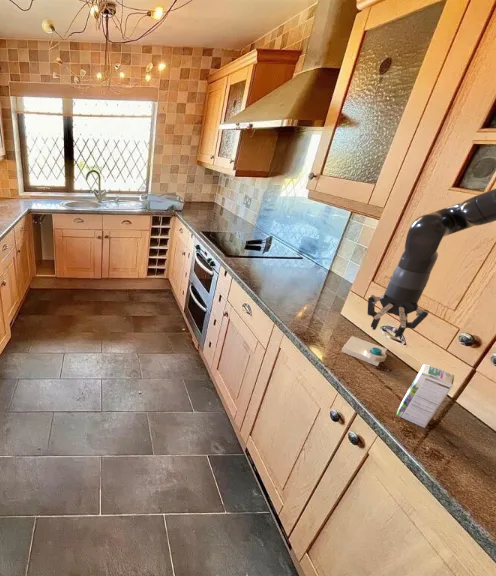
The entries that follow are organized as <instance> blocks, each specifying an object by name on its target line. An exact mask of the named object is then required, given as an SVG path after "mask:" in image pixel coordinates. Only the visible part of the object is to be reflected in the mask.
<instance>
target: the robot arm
mask: <svg viewBox="0 0 496 576" xmlns="http://www.w3.org/2000/svg"><path fill="white" fill-rule="evenodd" d="M493 222H496V188H493V189H490V190H487V191H485V192H482V193H479V194H477V195H475V196H472V197H469V198H467V199H466V200H464V201H462V202H459V203H456V204H453V205H451V206H447V207H445V208H444V207H443V208H442V209H441V208H440V209H439V210H436V211H433V212H430V213H427V214H423V215H420V216H418V217H417V218H416V219H415V220H414V221H412V223H411V224H410V226H409V229H408V231H407V233H406V238H405V243H404V249H403V252H402V254H401V256H400V259H399V261H398V263H397V266H396V267H395V269H394V270H393V273H392V274H391V276H390V278H389V281H388V284H387V286H386V289H385V291H384V293H383V295H381V296H376V295H374V294H372V295H370V296H369V297H368V298H367V315H368V316H369V317H370V316H371V317H372V318H373V319H372V321H371V323H370V327H371V328H372V329H371V330H373V331H376V329H377V328H378V325H379V323H380V321H381V317H383V316H384V315H385V314H386V313H387V314H390V315H391V314H392V315H395V316H397V317H399V323H400V325H399V327H398V328H397V330H396V333H395V335H394V338H397V339H398V337H400V338H401V337H402V336H403V334H404V332H405V330H406V329H411V330H414V329H415V328H416V327H418V326H419V325H420V324H421V323H422V322H423V320H425V319H426V318H427V317H428V315H429V313H430V311H429V310H428V309H422V308H420V307H419V305H418V304H419V303H418V302H419V300H420V299H421V296H422V295H423V293H424V290H425V289H426V287H427V284H428V282H429V280H430V277H431V273H432V271H433V269H434V266H435V264H436V262H437V260H438V257H439V252H438V249H439V246H440V244H441V242H442V240H443V238H445V237H447V236H450V235H453V234H455V233H458V232H461V231H464V230H466V229H470V228H473V227H477V226H482V225H487V224H490V223H493ZM377 303H380V304H381V306H382V308H381V309H380V310H379V311H377V312H376V310H375V309H376V308H375V307H376V304H377ZM413 312H416V313H415V316H416V317H415V319H413V321H410V322H409V319H408V315H409V314H411V313H413Z"/></svg>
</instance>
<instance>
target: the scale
mask: <svg viewBox="0 0 496 576" xmlns="http://www.w3.org/2000/svg"><path fill="white" fill-rule="evenodd" d="M374 347H375V348H379V349H381V350H382V352H381V355H380V356H378V355H374V354H372V353H371V351H372V348H374ZM387 350H388V348H386V347H383V346H380V345H379V344H376V343H372V342H370V341H367V340H364V339H362V338H359V337H356V336H354V335H351V336H350V338H349V339H348V340H347V342H346V343H345V344H344V345H343V346H342V348H341V351H340V352H341V353H343V354H345V355H349V356H351V357H353V358H356V359H358V360H361V361H362V362H366V363H369V364H371V365H373V366H375V367H378V366H379V365H380V363H382V362H385V361H386V359H387V354H386V353H387Z"/></svg>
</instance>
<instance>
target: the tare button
mask: <svg viewBox="0 0 496 576" xmlns="http://www.w3.org/2000/svg"><path fill="white" fill-rule="evenodd" d="M381 352H382V350H381V349H379V348H375V347H374V348H372V351H371V353H372V354H374V355H378V356H380V355H381Z"/></svg>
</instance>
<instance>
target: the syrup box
mask: <svg viewBox="0 0 496 576" xmlns="http://www.w3.org/2000/svg"><path fill="white" fill-rule="evenodd" d="M454 381H455V375H454V374H453V373H450V372H448V371H446V370H443V369H441V368H438V367H436V366H433V365H429V364H426V363H425V364H422V366H421V368H420V369H419V372H418V373H417V375H416V376H415V378H414V380H413V381H412V383H411V385H410V386H409V388H408V389H407V391H406V393H405V395H404V397H403V398H402V400H401V402H400V403H399V407H398V408H397V411H396V416H397V417H399V418H402V419H404V420H406V421H407V422H410V423H413V424H415V425H417V426H419V427H421V428H424V429H425V428H427V426H428V424H429V423H430V422H431V420H432V418H433V417H434V415H435V414H436V412H437V411H438V410H439V408H440V407H441V405H442V404H443V402H444V400H445V399H446V397H447V396H448V395H449V392H450V391H451V389H452V388H453V384H454Z"/></svg>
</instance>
